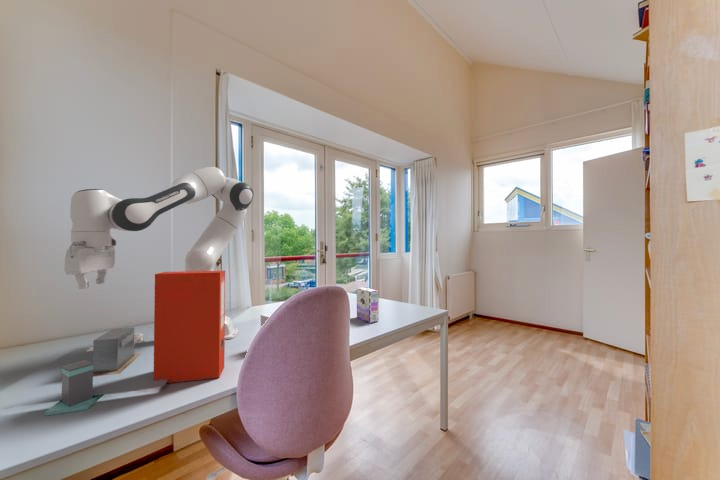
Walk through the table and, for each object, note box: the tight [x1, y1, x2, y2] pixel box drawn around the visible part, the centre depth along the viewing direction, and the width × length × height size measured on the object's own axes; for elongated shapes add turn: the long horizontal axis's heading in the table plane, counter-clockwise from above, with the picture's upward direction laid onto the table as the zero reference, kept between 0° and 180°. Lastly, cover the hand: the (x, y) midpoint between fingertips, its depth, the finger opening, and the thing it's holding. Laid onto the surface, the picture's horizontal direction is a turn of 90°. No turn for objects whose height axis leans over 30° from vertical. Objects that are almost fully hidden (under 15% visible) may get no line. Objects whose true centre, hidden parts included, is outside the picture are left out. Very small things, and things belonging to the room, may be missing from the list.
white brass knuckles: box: [86, 333, 145, 352], centre depth 110 cm, size 3×18×15 cm
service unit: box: [92, 326, 135, 374], centre depth 92 cm, size 7×12×10 cm, turn 19°
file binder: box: [153, 270, 226, 384], centre depth 88 cm, size 8×17×32 cm, turn 105°
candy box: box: [356, 286, 380, 324], centre depth 153 cm, size 14×6×16 cm, turn 30°
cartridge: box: [61, 359, 94, 407], centre depth 73 cm, size 5×5×9 cm
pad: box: [44, 393, 104, 416], centre depth 73 cm, size 8×8×1 cm
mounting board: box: [93, 353, 142, 377], centre depth 92 cm, size 10×16×2 cm, turn 19°
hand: (92, 285), depth 88 cm, fingers open, 8 cm apart
